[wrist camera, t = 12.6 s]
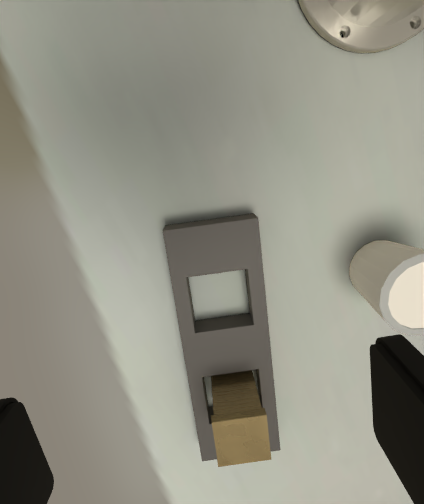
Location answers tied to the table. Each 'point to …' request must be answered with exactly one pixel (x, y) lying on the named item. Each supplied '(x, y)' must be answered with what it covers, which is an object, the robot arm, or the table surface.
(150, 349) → the table surface
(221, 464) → the tan upright block
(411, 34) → the robot arm
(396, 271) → the white short cylinder
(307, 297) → the table surface
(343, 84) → the table surface
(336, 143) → the table surface
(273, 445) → the rail
